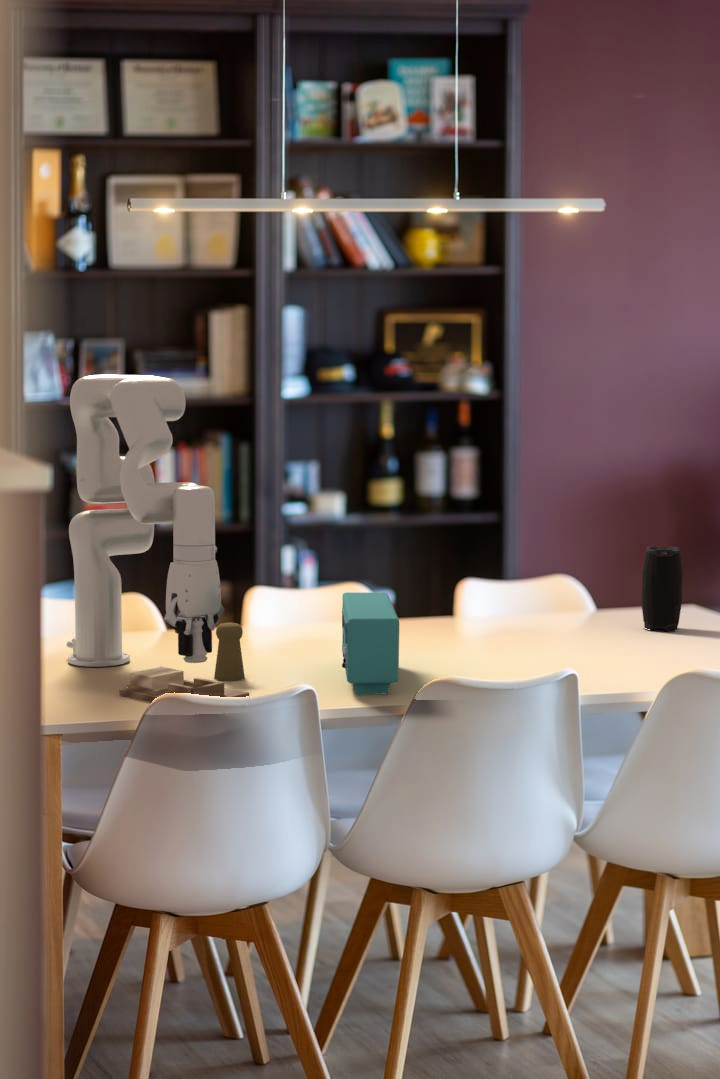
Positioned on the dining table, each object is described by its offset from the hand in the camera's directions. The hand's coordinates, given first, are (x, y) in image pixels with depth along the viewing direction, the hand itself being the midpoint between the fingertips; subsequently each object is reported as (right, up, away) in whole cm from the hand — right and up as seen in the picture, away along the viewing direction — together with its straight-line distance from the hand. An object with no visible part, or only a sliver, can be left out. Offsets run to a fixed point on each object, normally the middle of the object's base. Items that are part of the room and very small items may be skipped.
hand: (195, 652), depth 271 cm
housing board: (-3, -9, +4) cm, 10 cm away
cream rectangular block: (-8, -7, +7) cm, 13 cm away
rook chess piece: (0, -2, 0) cm, 2 cm away
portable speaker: (+101, -1, +81) cm, 130 cm away
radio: (+31, -7, +22) cm, 39 cm away
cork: (+4, -7, +22) cm, 23 cm away
